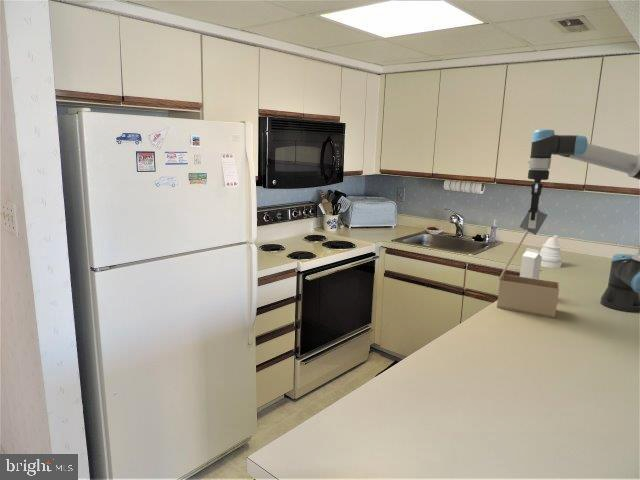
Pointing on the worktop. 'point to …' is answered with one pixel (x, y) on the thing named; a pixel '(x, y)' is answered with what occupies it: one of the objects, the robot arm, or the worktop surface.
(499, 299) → the carton
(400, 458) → the worktop surface
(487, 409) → the worktop surface
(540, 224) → the flap
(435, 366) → the worktop surface
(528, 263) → the milk
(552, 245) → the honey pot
